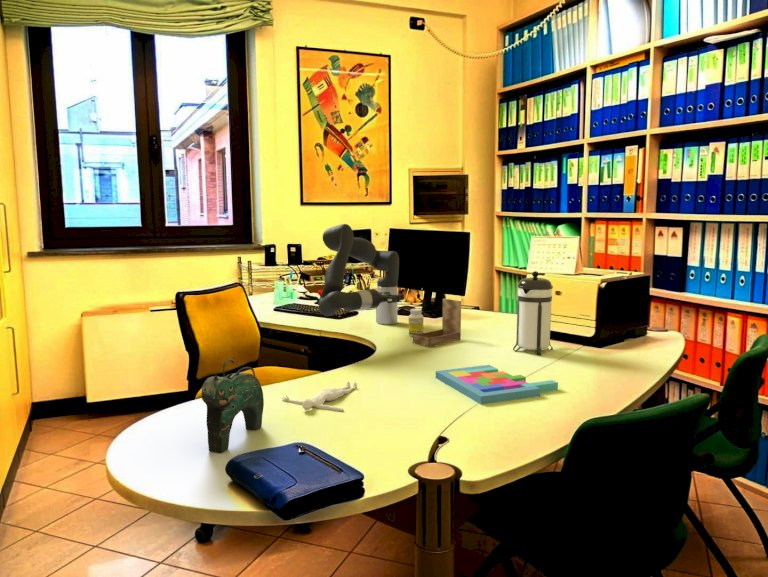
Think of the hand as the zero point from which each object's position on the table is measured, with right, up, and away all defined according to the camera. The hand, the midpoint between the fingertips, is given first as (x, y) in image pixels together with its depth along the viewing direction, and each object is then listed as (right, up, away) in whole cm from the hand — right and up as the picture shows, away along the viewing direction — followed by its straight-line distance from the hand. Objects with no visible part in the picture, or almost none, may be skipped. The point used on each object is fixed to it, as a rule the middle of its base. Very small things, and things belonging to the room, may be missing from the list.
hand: (396, 295), depth 249 cm
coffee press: (+51, -20, -16) cm, 58 cm away
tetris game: (+30, -27, -60) cm, 72 cm away
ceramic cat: (-40, -33, -103) cm, 115 cm away
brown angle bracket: (+16, -18, -2) cm, 25 cm away
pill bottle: (+8, -17, +10) cm, 21 cm away
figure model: (-21, -29, -73) cm, 81 cm away
